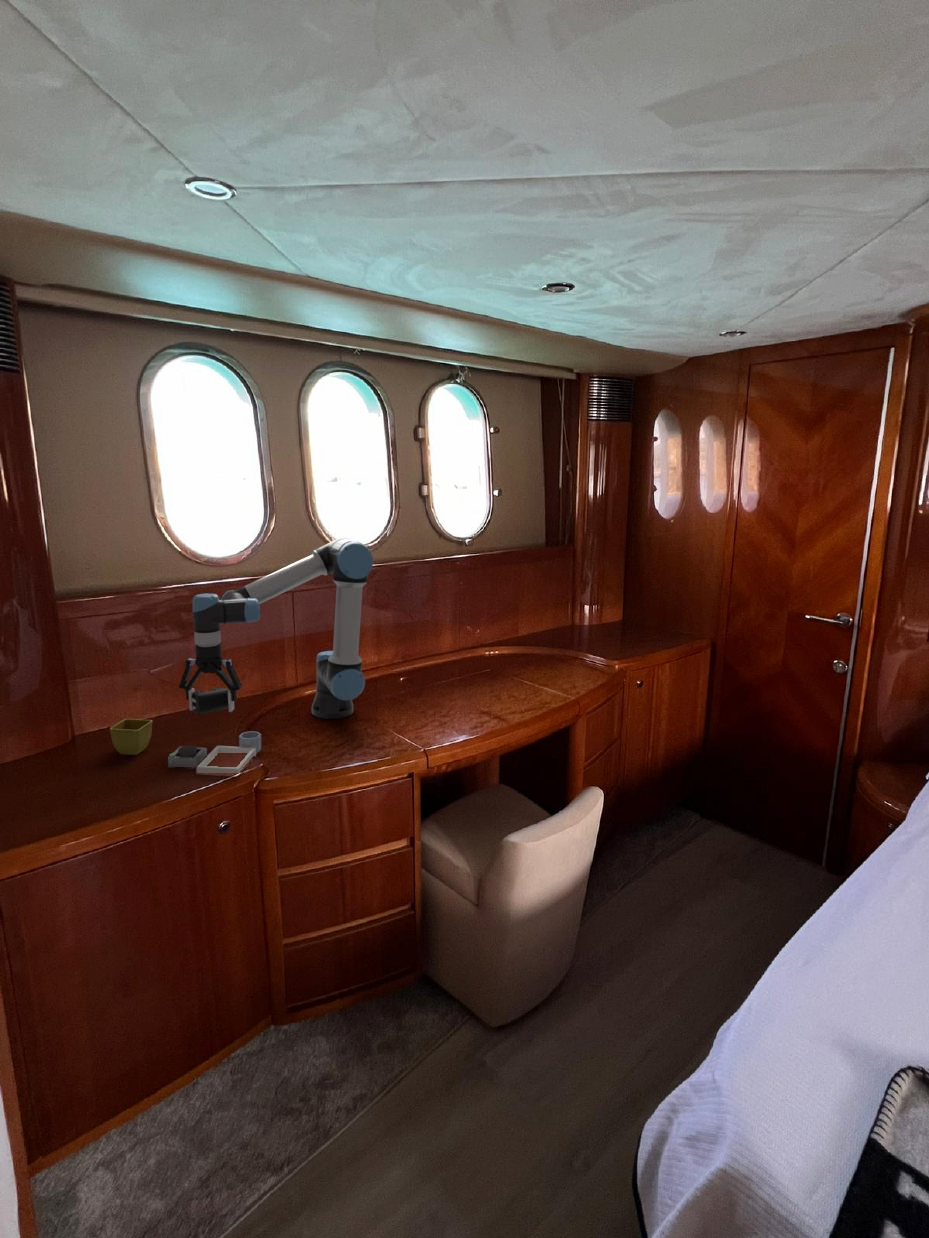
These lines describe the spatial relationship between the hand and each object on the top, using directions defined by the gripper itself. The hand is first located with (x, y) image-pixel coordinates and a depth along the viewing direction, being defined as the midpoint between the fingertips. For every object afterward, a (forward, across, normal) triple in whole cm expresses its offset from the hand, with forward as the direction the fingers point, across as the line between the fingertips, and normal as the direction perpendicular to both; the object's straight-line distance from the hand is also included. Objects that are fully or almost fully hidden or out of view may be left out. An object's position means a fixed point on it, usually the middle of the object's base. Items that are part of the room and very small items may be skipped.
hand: (212, 709), depth 201 cm
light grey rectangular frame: (+11, -10, +16) cm, 22 cm away
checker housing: (+11, +2, +15) cm, 19 cm away
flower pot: (+11, +21, +10) cm, 25 cm away
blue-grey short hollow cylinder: (+11, -13, +5) cm, 18 cm away
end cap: (+1, 0, 0) cm, 1 cm away
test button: (+9, +2, +15) cm, 18 cm away
